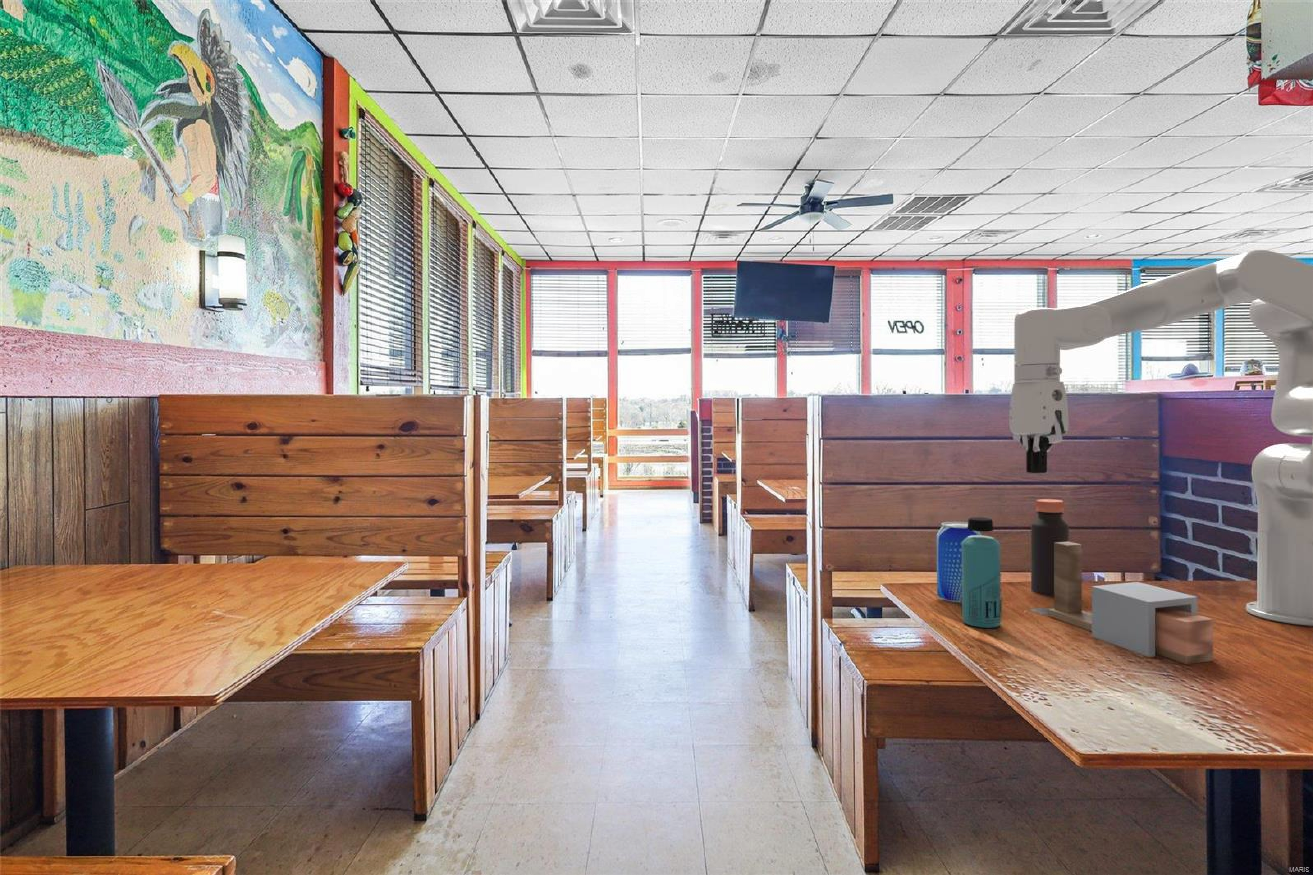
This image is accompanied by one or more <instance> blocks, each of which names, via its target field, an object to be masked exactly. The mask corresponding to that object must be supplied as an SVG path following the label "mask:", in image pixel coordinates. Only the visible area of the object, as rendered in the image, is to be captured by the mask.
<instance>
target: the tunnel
mask: <svg viewBox="0 0 1313 875" xmlns="http://www.w3.org/2000/svg"><path fill="white" fill-rule="evenodd" d="M1198 601H1199V600H1198V596H1195V595H1190V594H1187V593H1183V592H1179V591H1176V590H1171V589H1167V588H1163V587H1160V586H1155V585H1151V584H1147V583H1144V582H1140V581H1132V582H1123V583H1113V584H1112V583H1111V584H1102V585H1101V584H1100V585H1095V586H1094V585H1093V586H1091V614H1092V631H1091V638H1095V639H1098V640H1100V641H1103V642H1107V643H1109V644H1112V645H1114V646H1118V647H1120V648H1123V649H1125V650H1129V651H1130V652H1134V653H1136V654H1139V655H1142V656H1145V657H1148V658H1150V657H1155V656H1156V653H1155V608H1160V607H1171V608H1175V609H1178V610H1182V611H1185V612H1189V613H1193V614H1196V615H1198V609H1199V608H1198V606H1199V605H1198Z"/></svg>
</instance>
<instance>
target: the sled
mask: <svg viewBox="0 0 1313 875" xmlns="http://www.w3.org/2000/svg"><path fill="white" fill-rule="evenodd" d="M1082 546H1083V545H1082V544H1081V543H1077V542H1072V541H1069V542H1055V543H1054V596H1053V605H1054V606H1053V607H1054V608H1052V609H1047V615H1046V616H1047V617H1051V618H1054V619H1056V620H1060V621H1062V622H1065V623H1067V624H1071V625H1074V626H1076V627H1080V628H1083V629H1085V630H1086V631H1091V632H1092V612H1088V611H1084V610H1082V609H1083V607H1082V606H1083V604H1082V602H1083V600H1082V598H1083V597H1082V596H1083V595H1082V594H1083V592H1082V591H1083V590H1082V589H1083V587H1082V586H1083V584H1082V582H1083V580H1082V578H1083V576H1082V575H1083V574H1082V572H1083V571H1082V569H1083V568H1082V567H1083V566H1082V564H1083V561H1082V560H1083V558H1082V556H1083V551H1082V550H1083V547H1082ZM1155 655H1158V656H1162V657H1165V658H1168V659H1169V660H1173V661H1175V662H1178V663H1181V664H1185V665H1191V664H1198V663H1205V662H1213V661H1214V618H1211V617H1207V616H1204V615H1199V614H1197V615H1196V614H1193V613H1189V612H1185V611H1182V610H1178V609H1175V608H1171V607H1160V608H1155Z"/></svg>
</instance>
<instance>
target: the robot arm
mask: <svg viewBox="0 0 1313 875" xmlns="http://www.w3.org/2000/svg"><path fill="white" fill-rule="evenodd" d="M1248 302H1251V304H1250V306H1249V318H1250V321H1251V322H1252V324H1253V325H1254V326H1255V328H1256V329H1258V330H1259V331H1260V332H1262V333H1263V334H1264V335H1265V336H1266V337H1267V338H1268V339H1269V340H1270V341H1271V343H1272V344H1273V345H1274V346H1275V349H1276V351H1277V354H1278V370H1277V371H1278V372H1277V378H1276V383H1275V389H1274V394H1273V395H1274V396H1273V400H1272V406H1271V422H1272V424H1273V427H1275V429H1277V430H1278V431H1280V432H1281V433H1284V434H1286V435H1288V436H1289V435H1291V436H1295V437H1309V438H1310V437H1311V438H1312V440H1311V441H1312V442H1311V443H1298V442H1297V443H1295V442H1292V443H1291V442H1289V443H1288V442H1286V443H1278V444H1273V445H1271V446H1268V447H1266V448H1264V449H1263V450H1261V451H1260V452H1259V453H1258V454H1256V456H1255V458H1254V459H1253V461H1252V465H1251V479H1252V484H1253V487H1254V493H1255V495H1256V504H1257V574H1256V575H1257V578H1256V579H1257V580H1256V581H1257V582H1256V583H1257V585H1256V586H1257V587H1256V594H1257V596H1256V598H1257V599H1256V600H1255V601H1250V602H1248V603H1246V604H1245V611H1246V612H1248V613H1249V614H1251V615H1252V616H1256V617H1258V618H1262V619H1266V620H1270V621H1273V622H1274V621H1275V622H1279V623H1284V624H1290V625H1291V624H1292V625H1300V626H1310V627H1313V265H1312V264H1309V263H1306V262H1304V261H1302V260H1298V259H1297V258H1294V257H1292V256H1288V255H1285V254H1284V253H1283V254H1282V253H1280V252H1276V251H1272V250H1266V249H1255V250H1251V251H1248V252H1243V253H1240V254H1238V255H1235V256H1231V257H1228V258H1225V259H1221V260H1218V261H1215V262H1212V263H1208V264H1205V265H1202V266H1198V267H1195V268H1192V269H1189V270H1185V271H1183V272H1182V271H1181V272H1178V273H1175V274H1173V275H1168V276H1166V277H1162V278H1158V279H1155V280H1153V281H1149V282H1146V283H1143V284H1140V285H1138V286H1135V287H1133V288H1130V289H1129V290H1126V291H1123V292H1120V293H1118V294H1116V295H1113V296H1110V297H1107V298H1104V299H1100V300H1097V301H1095V302H1090V303H1087V304H1081V305H1077V306H1070V307H1061V308H1053V307H1052V308H1051V307H1038V308H1029V309H1023V310H1020V311H1019V312H1017V314H1015V317H1014V326H1013V327H1014V333H1013V334H1014V337H1013V338H1014V340H1013V342H1014V345H1013V346H1014V351H1013V352H1014V354H1013V355H1014V363H1013V365H1014V369H1013V370H1014V372H1013V373H1014V375H1013V376H1014V381H1013V382H1014V383H1013V384H1012V388H1011V394H1010V404H1009V416H1008V417H1009V420H1008V421H1009V429H1010V430H1009V431H1010V432H1011V433H1012V434H1013V435H1012V439H1013V441H1015V442H1019V443H1020V444H1021V445H1022V447H1023V448H1022V449H1023V451H1024V452H1026V453H1025V455H1026V456H1025V457H1026V458H1025V460H1026V464H1025V465H1026V469H1025V470H1026V471H1025V472H1026V473H1029V474H1046V473H1047V472H1048V452H1050V451H1051V447H1052V446H1053V445H1054V444H1057V443H1061V442H1062V441H1063V435H1066V434H1067V433H1068V432H1069V428H1070V427H1069V426H1070V423H1069V422H1070V421H1069V406H1068V398H1067V390H1066V386H1065V384H1064V383H1065V382H1064V381H1061V374H1062V373H1063V368H1061V351H1069V350H1073V349H1079V348H1084V347H1085V348H1086V347H1090V346H1095V345H1097V344H1099V343H1101V342H1103V341H1104V340H1106V339H1109V338H1113V337H1116V336H1120V335H1124V334H1129V333H1134V332H1135V333H1136V332H1141V331H1148V330H1152V329H1153V330H1154V329H1156V328H1160V327H1165V326H1168V325H1172V324H1176V323H1178V322H1182V321H1185V320H1189V319H1193V318H1195V317H1199V316H1202V315H1205V314H1209V313H1211V312H1213V313H1214V312H1215V311H1219V310H1223V309H1226V308H1229V307H1232V306H1236V305H1239V304H1245V303H1248Z"/></svg>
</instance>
